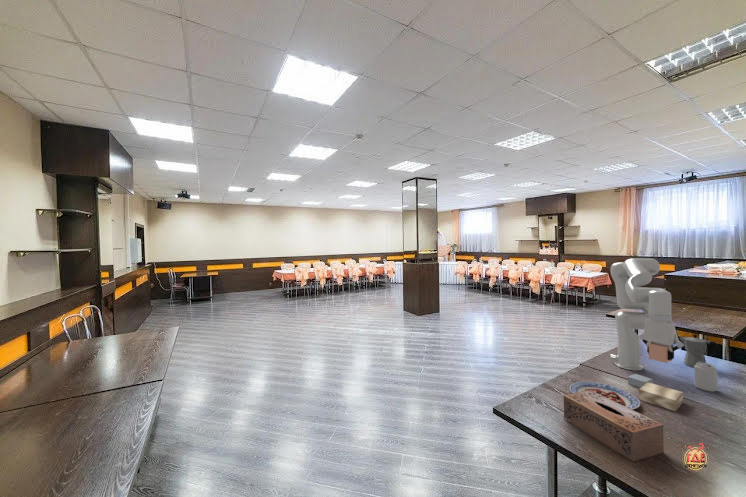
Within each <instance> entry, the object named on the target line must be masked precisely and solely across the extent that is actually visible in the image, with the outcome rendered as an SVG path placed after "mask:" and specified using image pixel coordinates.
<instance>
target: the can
mask: <svg viewBox="0 0 746 497" xmlns="http://www.w3.org/2000/svg"><path fill="white" fill-rule="evenodd" d="M693 369H694V371H693V372H694V377H693V378H694V385H695V387H696V388H698V389H699V390H701V391H705V392H709V393H713V392H716V391H718V390H719V388H718V387H719V386H718V383H719V382H718V379H719V378H718V369H717V368H716V366H715V365H714V364H712V363H709V362H708V363H707V362H706V363H703V362H697V363H696V365H695V366H694V368H693Z"/></svg>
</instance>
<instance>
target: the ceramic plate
mask: <svg viewBox="0 0 746 497" xmlns="http://www.w3.org/2000/svg"><path fill="white" fill-rule="evenodd" d="M569 390H570V392H571V394H573V393H578V392H583V391H588V390H591V391H594V392H596V393H598V394H600V395H602V396H604V397H606V398H608V399H610V400H613V401H615V402H617V403H619V404H621V405H623V406H625V407H627V408H629V409H632V410H635V409H638V408H640V406H641V400H639V398H637V396H635V395H634V394H632V393H630V392H628V391H627V390H624V389H622V388H619V387H616V386H614V385H609V384H607V383H606V384H605V383H601V382H595V381H578V382H574V383H572V384H571V385H570V386H569Z"/></svg>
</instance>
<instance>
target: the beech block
mask: <svg viewBox="0 0 746 497" xmlns="http://www.w3.org/2000/svg"><path fill="white" fill-rule="evenodd" d="M638 400H639V401H642V402H646V403H649V404H652V405H654V406H659V407H661V408H663V409H664V408H665V409H667V410H670V411H674V412H677V410H678V409H679V408H680V406H682V404H683V403H684V392H683V391H680V390H676V389H673V388H670V387H665V386H662V385H660V384H659V385H658V384H656V383H653V382H652V383H649V382H647V383H646V384H645V385H644V386H642V387H641V388H639V389H638Z"/></svg>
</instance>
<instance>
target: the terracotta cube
mask: <svg viewBox="0 0 746 497" xmlns="http://www.w3.org/2000/svg"><path fill="white" fill-rule="evenodd" d="M668 351H669V349H668V347H667V345H663V344H659V343H654V342H652V343H649V353H648V359H649V360H653V361H657V362H661V363H664V364H668V363H670V362H672V361H673V359H672V360H668Z"/></svg>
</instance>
